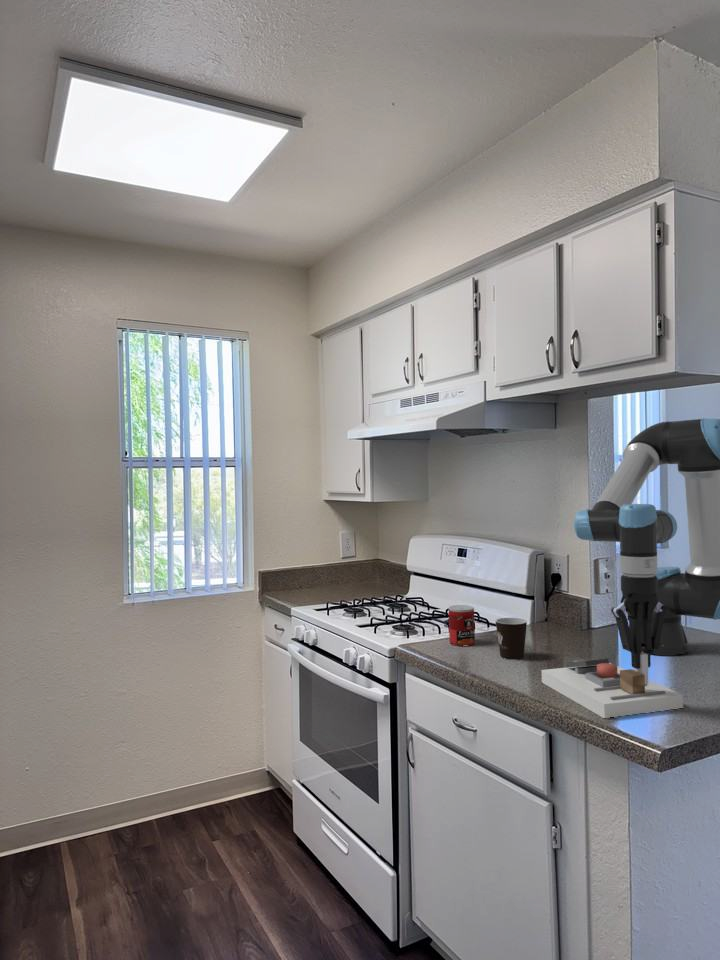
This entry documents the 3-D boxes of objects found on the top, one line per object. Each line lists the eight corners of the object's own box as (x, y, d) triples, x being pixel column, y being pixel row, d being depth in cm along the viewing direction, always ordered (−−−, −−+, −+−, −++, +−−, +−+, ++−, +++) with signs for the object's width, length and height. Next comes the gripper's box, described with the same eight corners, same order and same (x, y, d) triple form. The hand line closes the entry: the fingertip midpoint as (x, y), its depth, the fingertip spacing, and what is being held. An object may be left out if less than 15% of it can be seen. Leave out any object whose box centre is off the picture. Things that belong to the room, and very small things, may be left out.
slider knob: (632, 687, 149) (631, 669, 149) (645, 693, 145) (644, 674, 145) (620, 688, 149) (619, 670, 149) (632, 694, 144) (632, 676, 144)
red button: (609, 671, 157) (609, 662, 157) (621, 676, 153) (621, 667, 153) (593, 672, 156) (593, 664, 156) (604, 678, 152) (604, 669, 152)
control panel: (610, 674, 169) (609, 657, 169) (683, 708, 144) (682, 688, 144) (541, 682, 165) (541, 664, 165) (604, 718, 139) (604, 697, 139)
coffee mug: (528, 661, 184) (527, 624, 183) (496, 660, 185) (495, 623, 185) (526, 650, 195) (525, 615, 195) (496, 649, 197) (495, 615, 197)
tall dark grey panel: (588, 665, 167) (587, 659, 167) (609, 663, 159) (607, 657, 159) (566, 667, 166) (565, 661, 166) (586, 666, 157) (585, 660, 158)
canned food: (458, 647, 199) (457, 610, 199) (444, 642, 207) (443, 606, 207) (480, 644, 203) (479, 608, 202) (465, 639, 210) (464, 603, 210)
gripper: (623, 578, 142) (626, 690, 142) (676, 575, 145) (679, 684, 145) (602, 574, 149) (605, 680, 149) (653, 570, 152) (655, 675, 152)
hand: (641, 682), depth 147 cm, fingers closed
